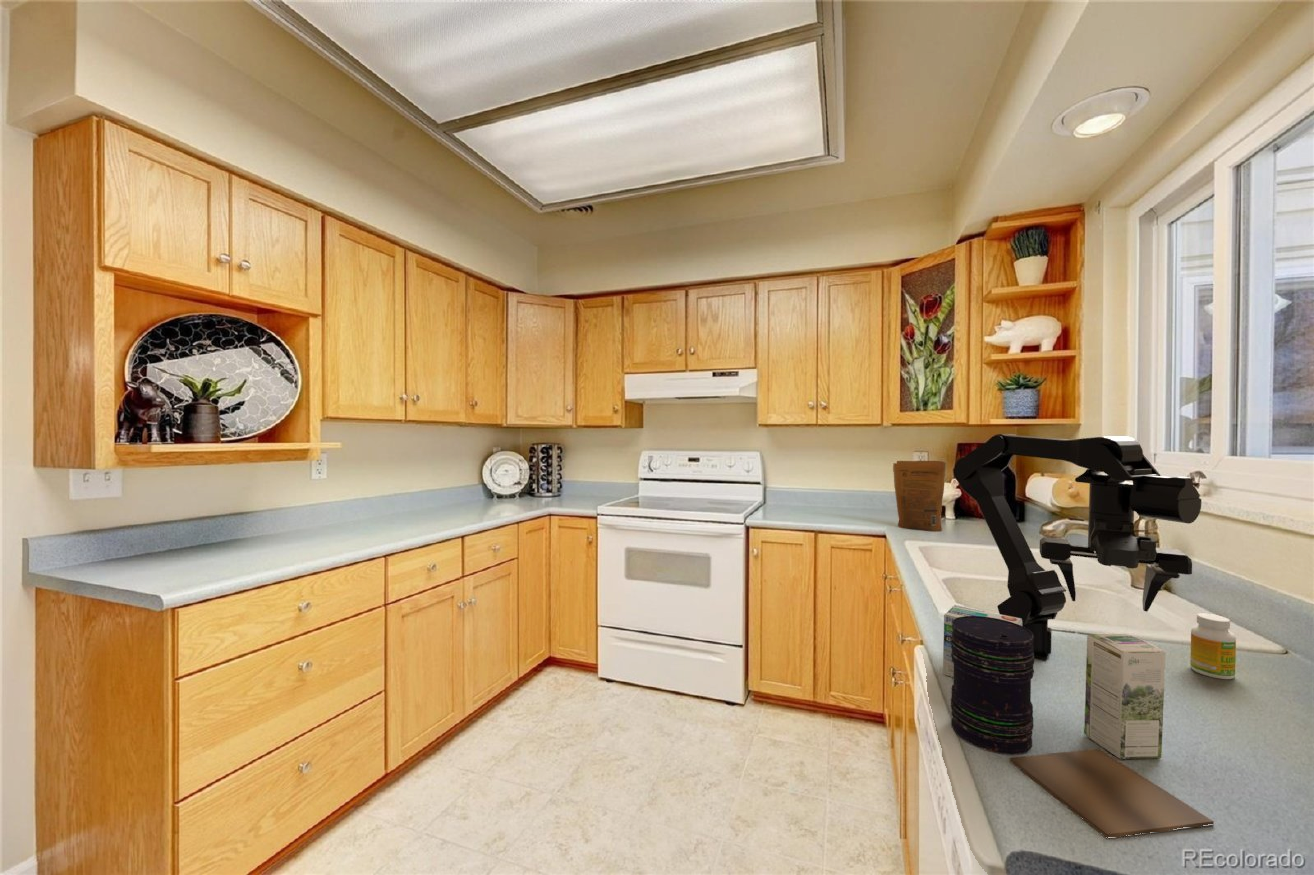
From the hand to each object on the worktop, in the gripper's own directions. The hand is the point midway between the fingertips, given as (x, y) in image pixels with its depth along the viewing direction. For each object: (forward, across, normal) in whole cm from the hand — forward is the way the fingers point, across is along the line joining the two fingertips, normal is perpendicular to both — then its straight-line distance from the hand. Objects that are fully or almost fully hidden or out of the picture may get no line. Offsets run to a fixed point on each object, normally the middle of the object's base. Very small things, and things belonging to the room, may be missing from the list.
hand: (1108, 605), depth 89 cm
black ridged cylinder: (+13, -16, -27) cm, 34 cm away
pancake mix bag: (+14, -41, +124) cm, 132 cm away
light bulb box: (+13, -18, -9) cm, 24 cm away
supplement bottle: (+13, +16, +14) cm, 25 cm away
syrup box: (+13, -1, -22) cm, 25 cm away
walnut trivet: (+13, -5, -34) cm, 37 cm away
